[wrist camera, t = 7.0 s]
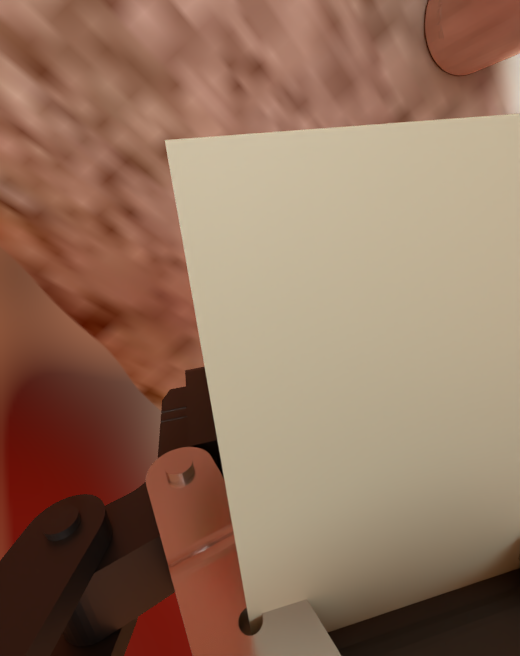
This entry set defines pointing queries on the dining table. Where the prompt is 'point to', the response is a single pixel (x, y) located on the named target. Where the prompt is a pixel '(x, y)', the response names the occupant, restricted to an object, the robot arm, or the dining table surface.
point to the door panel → (361, 355)
